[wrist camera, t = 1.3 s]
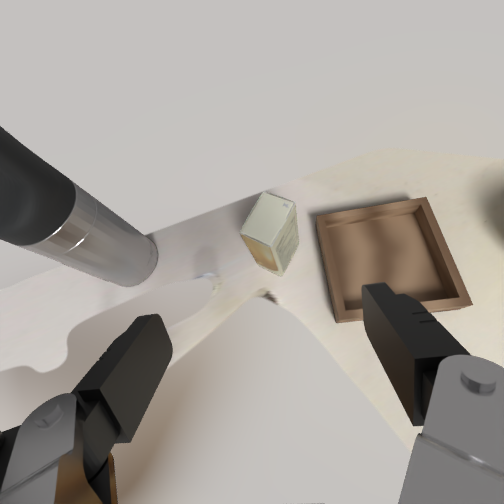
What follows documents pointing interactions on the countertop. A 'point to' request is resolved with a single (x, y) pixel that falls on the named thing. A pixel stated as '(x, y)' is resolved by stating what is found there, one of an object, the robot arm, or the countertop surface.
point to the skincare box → (272, 232)
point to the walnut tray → (388, 257)
